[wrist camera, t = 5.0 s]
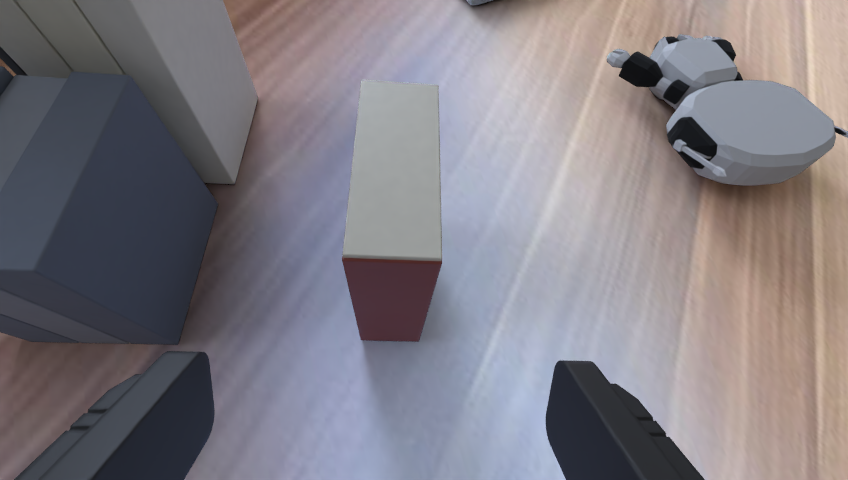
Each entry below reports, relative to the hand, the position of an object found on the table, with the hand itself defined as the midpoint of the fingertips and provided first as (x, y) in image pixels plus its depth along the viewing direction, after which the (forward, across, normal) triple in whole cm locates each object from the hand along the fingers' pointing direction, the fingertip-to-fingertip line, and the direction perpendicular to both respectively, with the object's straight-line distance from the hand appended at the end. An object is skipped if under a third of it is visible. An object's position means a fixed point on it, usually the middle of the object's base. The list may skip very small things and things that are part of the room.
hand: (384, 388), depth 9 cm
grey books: (+15, +15, +3) cm, 21 cm away
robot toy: (+25, -24, -7) cm, 35 cm away
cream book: (+15, 0, +3) cm, 15 cm away
